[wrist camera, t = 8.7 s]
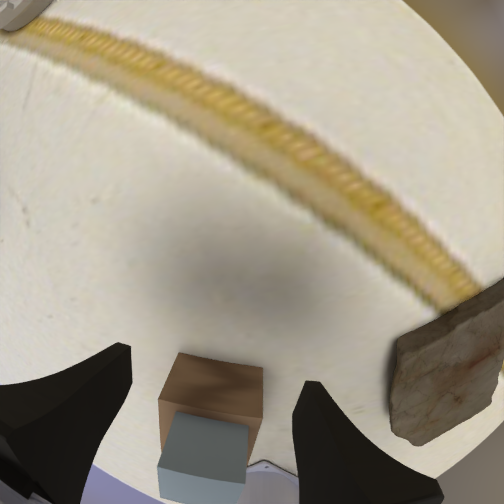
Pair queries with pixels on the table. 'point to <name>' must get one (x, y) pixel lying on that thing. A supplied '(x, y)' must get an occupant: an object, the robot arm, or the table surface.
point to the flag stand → (19, 12)
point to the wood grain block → (213, 394)
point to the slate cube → (203, 461)
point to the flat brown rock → (448, 368)
